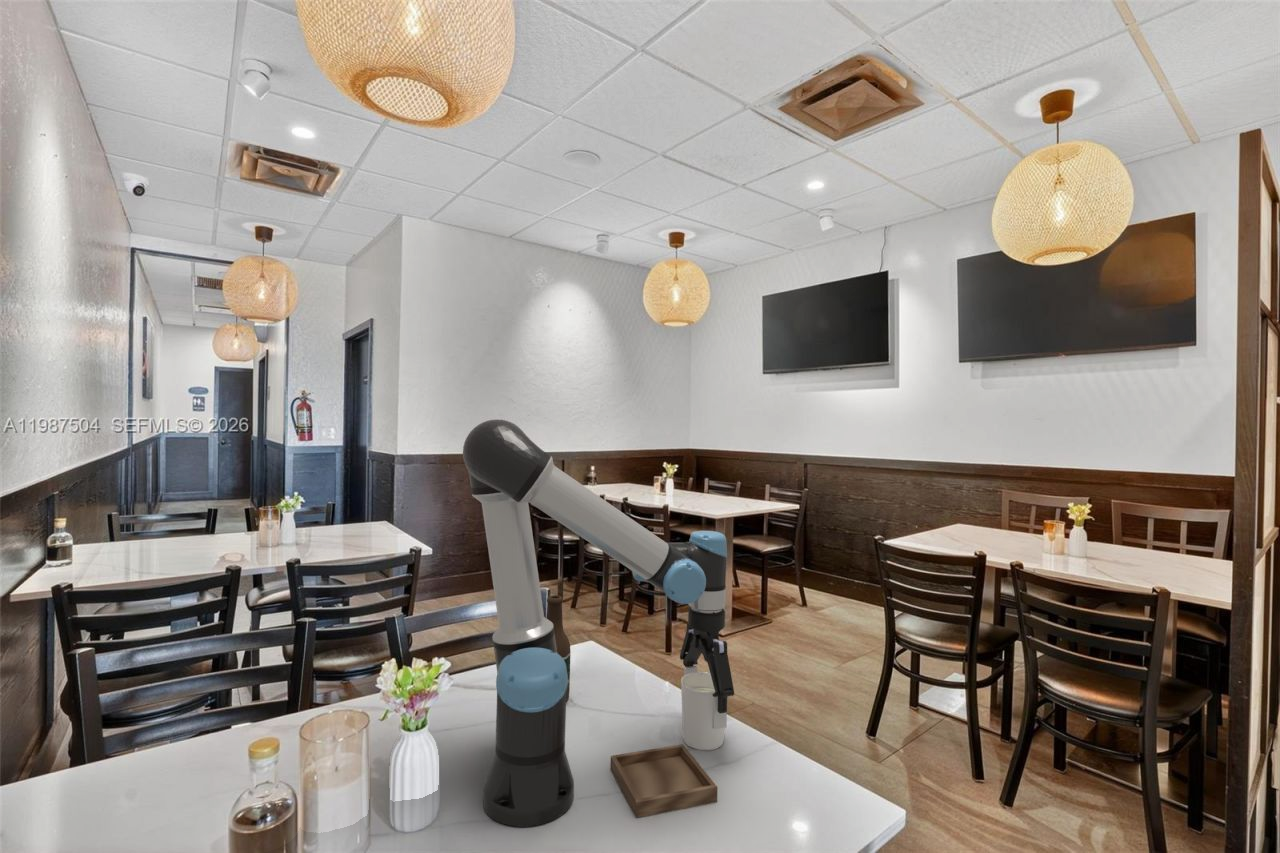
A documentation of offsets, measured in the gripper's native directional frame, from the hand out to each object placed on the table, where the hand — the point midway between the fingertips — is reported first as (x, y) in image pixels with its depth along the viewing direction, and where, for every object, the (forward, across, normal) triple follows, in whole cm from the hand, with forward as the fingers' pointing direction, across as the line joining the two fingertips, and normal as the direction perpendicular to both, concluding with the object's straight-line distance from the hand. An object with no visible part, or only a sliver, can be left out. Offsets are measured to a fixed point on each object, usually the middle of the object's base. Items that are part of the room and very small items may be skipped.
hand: (704, 711), depth 123 cm
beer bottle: (+6, +26, +26) cm, 37 cm away
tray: (+6, -12, +14) cm, 19 cm away
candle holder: (+6, 0, 0) cm, 6 cm away
